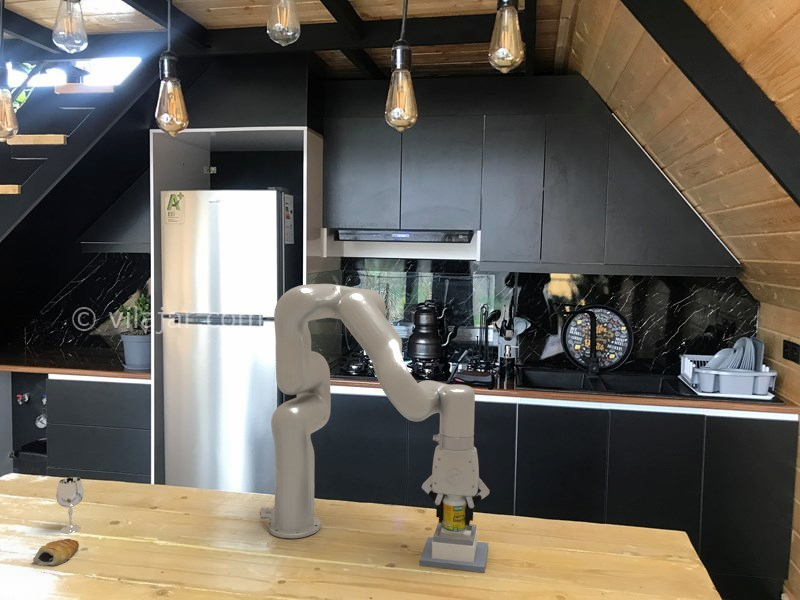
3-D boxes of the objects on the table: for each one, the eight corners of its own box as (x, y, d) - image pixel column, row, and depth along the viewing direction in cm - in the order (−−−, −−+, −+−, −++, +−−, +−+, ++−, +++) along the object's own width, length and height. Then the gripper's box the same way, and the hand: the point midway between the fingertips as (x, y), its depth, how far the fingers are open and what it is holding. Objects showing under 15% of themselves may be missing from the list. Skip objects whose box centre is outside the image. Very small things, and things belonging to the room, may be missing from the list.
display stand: (419, 565, 135) (419, 538, 135) (427, 541, 147) (428, 517, 147) (484, 572, 133) (485, 545, 132) (488, 547, 144) (488, 522, 144)
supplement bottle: (456, 523, 143) (457, 481, 143) (471, 531, 139) (472, 489, 138) (437, 528, 140) (438, 486, 140) (452, 537, 136) (453, 493, 135)
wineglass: (82, 532, 150) (82, 483, 149) (55, 535, 148) (54, 485, 147) (85, 523, 155) (84, 475, 154) (58, 526, 153) (57, 477, 152)
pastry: (60, 546, 143) (60, 530, 143) (87, 549, 142) (87, 532, 142) (30, 566, 133) (30, 548, 133) (59, 568, 133) (59, 551, 132)
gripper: (415, 443, 136) (413, 525, 138) (494, 449, 133) (492, 533, 134) (421, 434, 144) (419, 511, 145) (496, 439, 140) (494, 519, 141)
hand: (454, 521), depth 139 cm, fingers closed on supplement bottle, 5 cm apart
